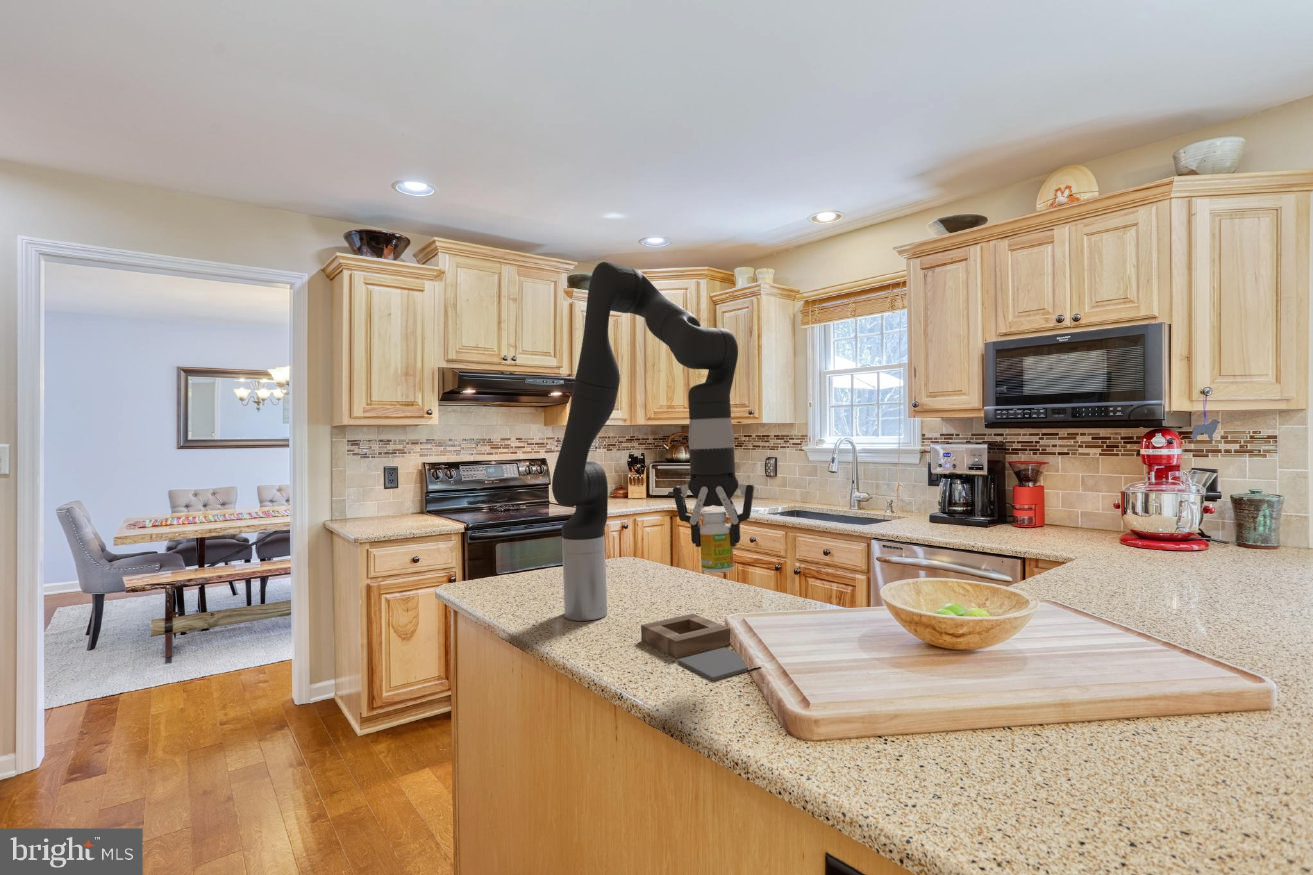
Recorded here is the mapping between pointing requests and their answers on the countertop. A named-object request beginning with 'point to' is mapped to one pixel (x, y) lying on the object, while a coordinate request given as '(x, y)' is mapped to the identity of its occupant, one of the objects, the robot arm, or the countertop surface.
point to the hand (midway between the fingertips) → (716, 545)
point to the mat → (715, 663)
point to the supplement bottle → (716, 543)
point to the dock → (685, 635)
